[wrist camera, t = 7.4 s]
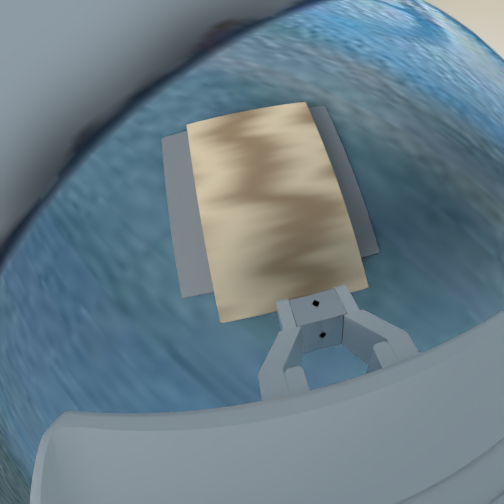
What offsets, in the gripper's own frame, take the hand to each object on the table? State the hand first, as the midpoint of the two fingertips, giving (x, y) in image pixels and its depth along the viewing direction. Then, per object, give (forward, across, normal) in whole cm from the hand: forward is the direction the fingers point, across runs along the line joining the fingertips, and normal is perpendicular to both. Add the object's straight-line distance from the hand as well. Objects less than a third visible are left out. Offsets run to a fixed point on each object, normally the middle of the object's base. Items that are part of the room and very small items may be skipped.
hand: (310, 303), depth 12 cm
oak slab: (+4, 0, +4) cm, 6 cm away
